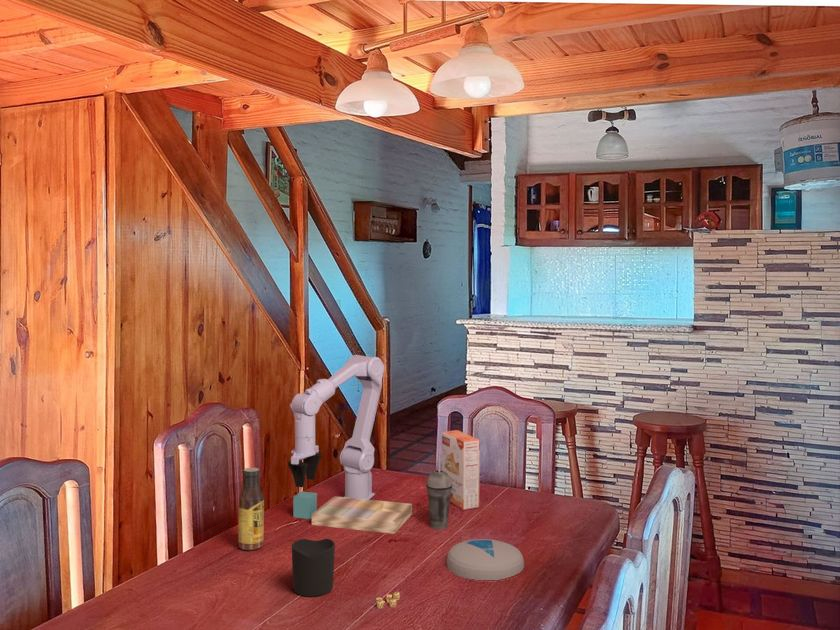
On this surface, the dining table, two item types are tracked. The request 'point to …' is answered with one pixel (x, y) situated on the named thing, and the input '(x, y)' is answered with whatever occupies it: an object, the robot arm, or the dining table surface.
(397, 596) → the popcorn pieces
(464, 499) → the cracker box
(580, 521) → the dining table surface
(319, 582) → the pen holder
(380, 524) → the puzzle board
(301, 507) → the teal block
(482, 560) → the grey thick round disc
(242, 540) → the sauce bottle
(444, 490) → the beverage cup
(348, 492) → the robot arm
